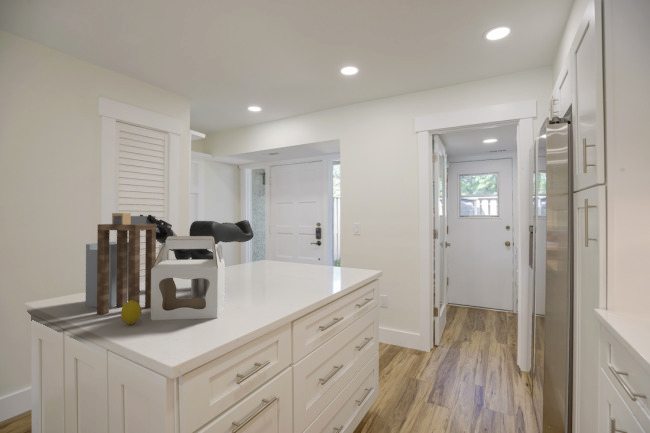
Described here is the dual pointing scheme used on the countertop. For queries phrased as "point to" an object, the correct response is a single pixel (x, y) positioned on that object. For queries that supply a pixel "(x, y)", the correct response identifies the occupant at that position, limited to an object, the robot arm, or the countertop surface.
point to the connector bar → (129, 219)
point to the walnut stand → (124, 264)
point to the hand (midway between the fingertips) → (144, 216)
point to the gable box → (166, 270)
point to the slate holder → (92, 274)
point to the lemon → (131, 312)
